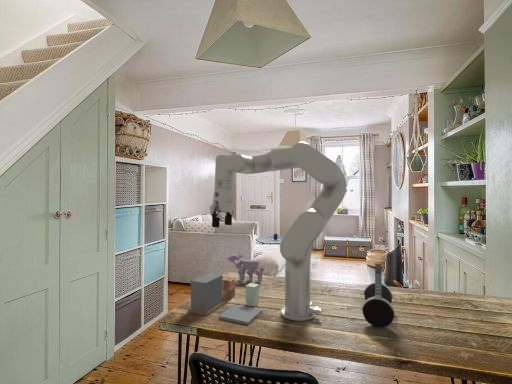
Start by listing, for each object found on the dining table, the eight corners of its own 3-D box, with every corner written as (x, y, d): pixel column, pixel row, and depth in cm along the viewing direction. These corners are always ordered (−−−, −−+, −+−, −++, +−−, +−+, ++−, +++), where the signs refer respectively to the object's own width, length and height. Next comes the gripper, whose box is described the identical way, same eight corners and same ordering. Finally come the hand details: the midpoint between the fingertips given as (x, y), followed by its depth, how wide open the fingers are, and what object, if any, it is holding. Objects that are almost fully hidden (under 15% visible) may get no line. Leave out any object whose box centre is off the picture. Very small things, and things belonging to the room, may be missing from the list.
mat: (262, 312, 115) (262, 309, 115) (248, 325, 104) (248, 322, 104) (234, 307, 120) (234, 304, 120) (219, 318, 109) (219, 316, 109)
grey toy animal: (222, 282, 154) (223, 255, 154) (229, 277, 164) (229, 252, 165) (260, 285, 149) (260, 257, 149) (264, 280, 159) (265, 254, 160)
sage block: (258, 303, 125) (258, 284, 125) (254, 306, 121) (254, 287, 121) (250, 301, 126) (250, 283, 126) (245, 305, 123) (245, 285, 123)
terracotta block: (234, 296, 133) (234, 278, 133) (230, 299, 129) (230, 281, 129) (227, 295, 135) (227, 277, 135) (222, 298, 131) (222, 279, 131)
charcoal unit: (225, 303, 124) (225, 275, 124) (207, 315, 112) (207, 283, 112) (206, 300, 128) (206, 272, 128) (187, 311, 116) (188, 280, 116)
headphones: (361, 326, 103) (361, 269, 103) (363, 305, 122) (363, 257, 122) (395, 332, 99) (395, 272, 99) (392, 309, 118) (392, 259, 118)
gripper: (220, 184, 114) (218, 229, 114) (241, 185, 130) (239, 224, 130) (204, 184, 117) (202, 227, 118) (226, 185, 133) (225, 223, 133)
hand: (222, 226), depth 124 cm, fingers open, 9 cm apart
